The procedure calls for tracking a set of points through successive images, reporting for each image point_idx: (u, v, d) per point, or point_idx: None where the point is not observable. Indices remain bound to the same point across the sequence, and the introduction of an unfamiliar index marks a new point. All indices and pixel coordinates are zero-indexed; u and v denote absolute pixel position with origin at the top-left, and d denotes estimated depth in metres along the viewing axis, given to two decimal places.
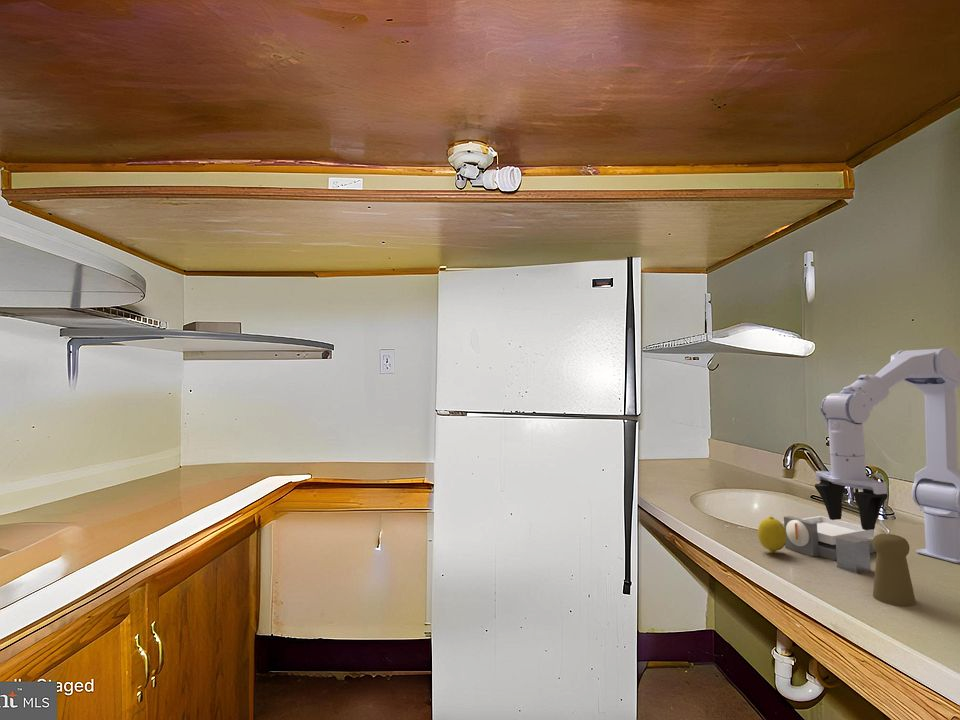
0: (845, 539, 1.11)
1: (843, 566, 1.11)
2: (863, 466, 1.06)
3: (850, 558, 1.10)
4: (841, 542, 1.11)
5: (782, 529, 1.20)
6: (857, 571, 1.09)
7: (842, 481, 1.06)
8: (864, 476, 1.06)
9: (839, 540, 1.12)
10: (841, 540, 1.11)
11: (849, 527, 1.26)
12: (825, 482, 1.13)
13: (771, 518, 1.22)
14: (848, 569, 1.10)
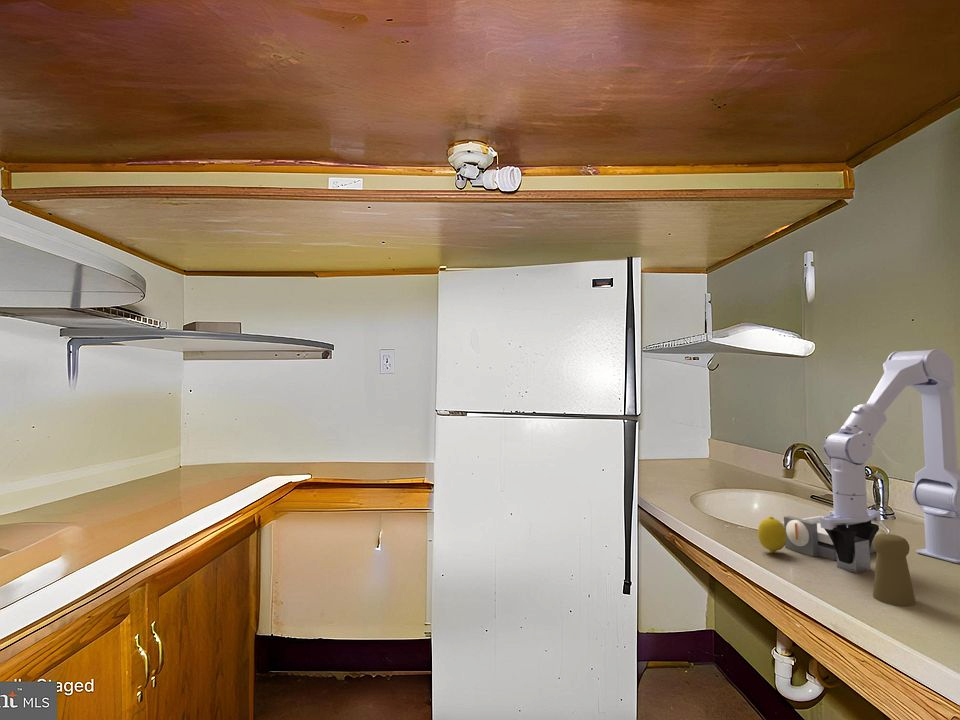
0: None
1: (843, 566, 1.11)
2: (844, 505, 1.10)
3: None
4: None
5: (782, 529, 1.20)
6: (857, 571, 1.09)
7: None
8: (845, 514, 1.10)
9: None
10: None
11: None
12: None
13: (771, 518, 1.22)
14: (848, 569, 1.10)
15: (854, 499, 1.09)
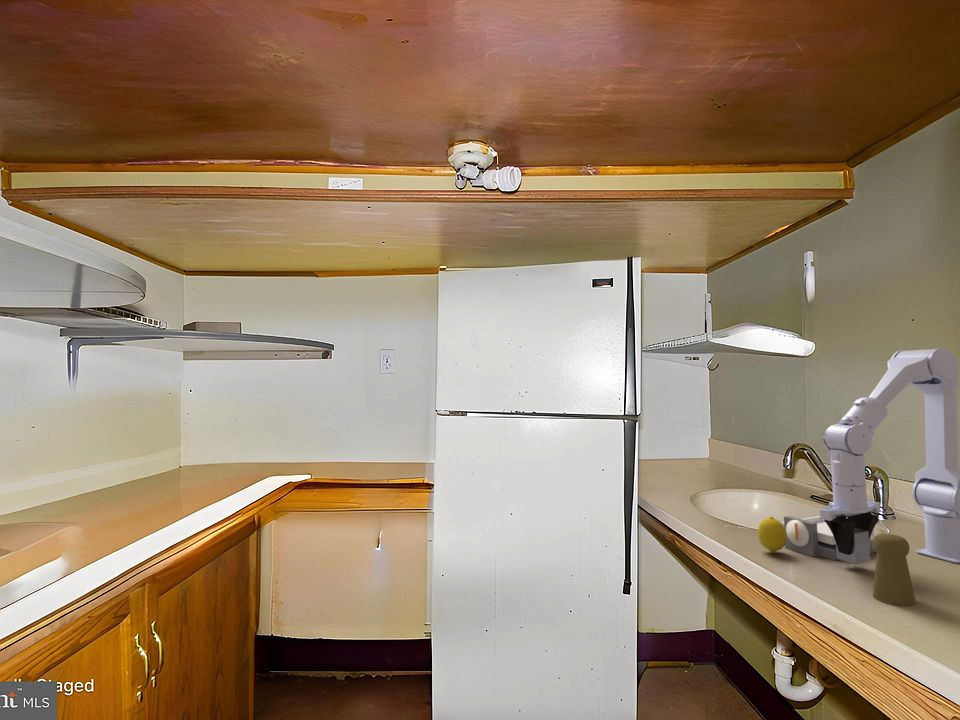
0: None
1: (843, 557, 1.11)
2: (843, 496, 1.10)
3: None
4: None
5: (782, 529, 1.20)
6: (857, 562, 1.09)
7: None
8: (845, 506, 1.10)
9: None
10: None
11: None
12: None
13: (771, 518, 1.22)
14: (848, 560, 1.10)
15: (853, 490, 1.09)
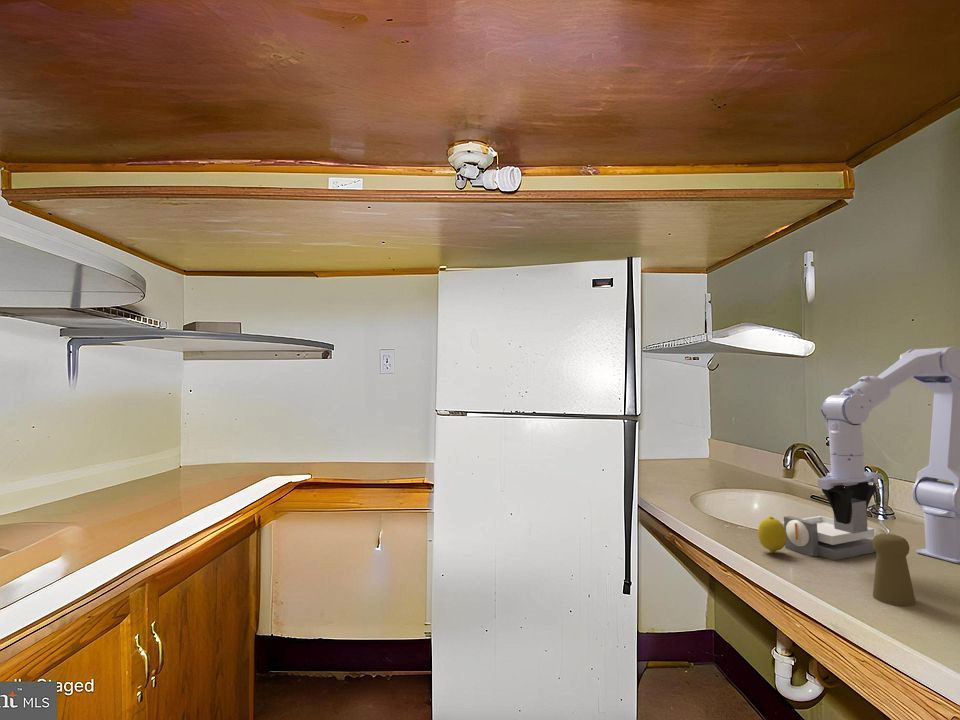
0: None
1: (840, 527, 1.12)
2: (841, 465, 1.10)
3: None
4: None
5: (782, 529, 1.20)
6: (854, 531, 1.09)
7: None
8: (843, 475, 1.10)
9: None
10: None
11: None
12: None
13: (771, 518, 1.22)
14: (845, 530, 1.11)
15: (851, 459, 1.09)
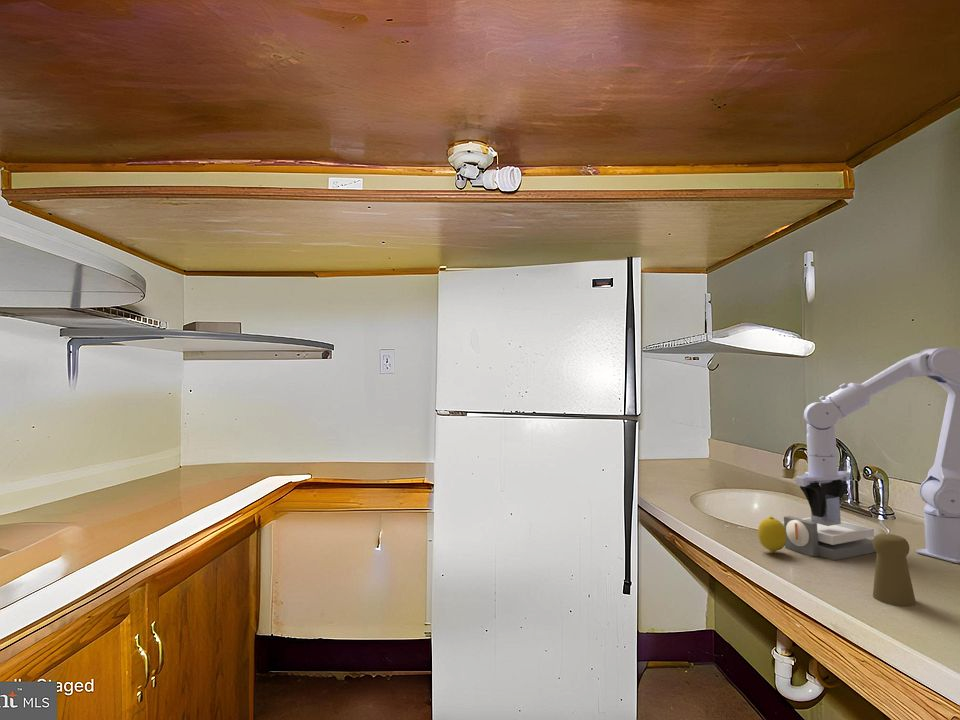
0: None
1: (816, 520, 1.25)
2: (817, 465, 1.24)
3: None
4: None
5: (782, 529, 1.20)
6: (828, 524, 1.23)
7: None
8: (818, 474, 1.24)
9: None
10: None
11: (849, 527, 1.26)
12: None
13: (771, 518, 1.22)
14: (821, 522, 1.24)
15: (825, 460, 1.23)
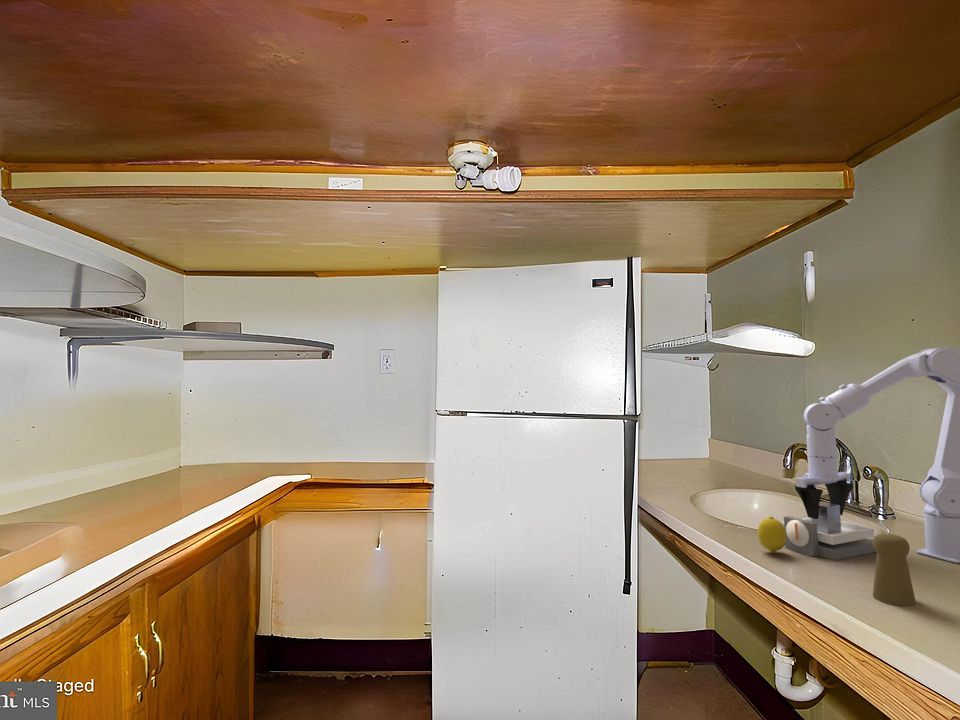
0: (819, 504, 1.25)
1: (817, 528, 1.25)
2: (817, 466, 1.24)
3: (823, 521, 1.24)
4: None
5: (782, 529, 1.20)
6: (829, 532, 1.23)
7: None
8: (818, 475, 1.24)
9: None
10: None
11: (849, 527, 1.26)
12: None
13: (771, 518, 1.22)
14: (821, 530, 1.24)
15: (825, 461, 1.23)
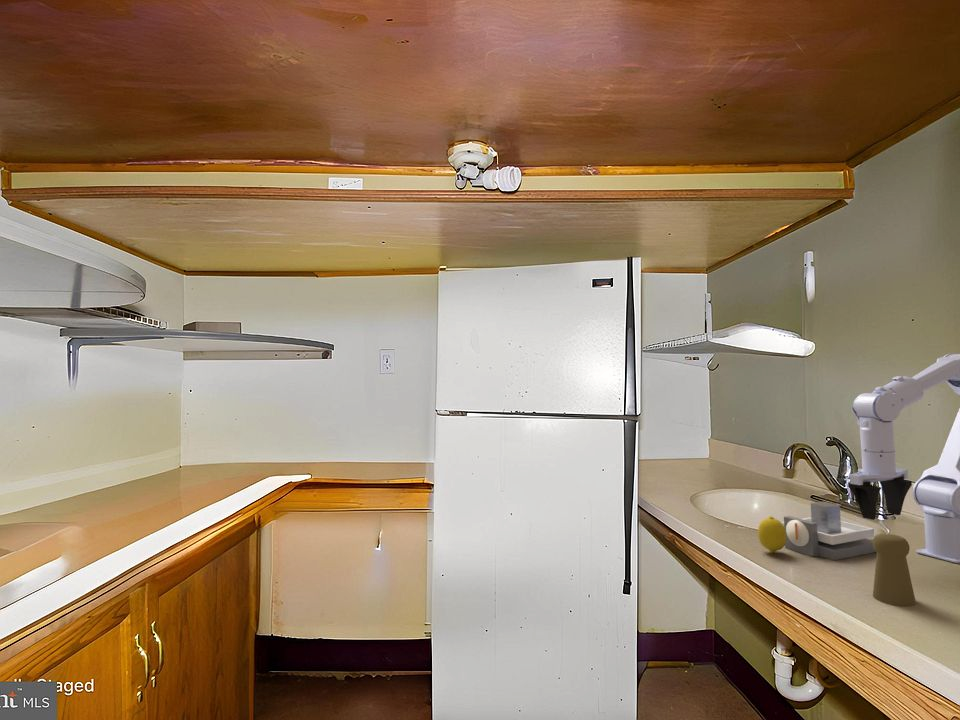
0: (819, 504, 1.25)
1: (817, 528, 1.25)
2: (873, 462, 1.13)
3: (823, 521, 1.24)
4: (815, 507, 1.25)
5: (782, 529, 1.20)
6: (829, 532, 1.23)
7: None
8: (874, 471, 1.13)
9: (814, 505, 1.26)
10: (815, 505, 1.25)
11: (849, 527, 1.26)
12: None
13: (771, 518, 1.22)
14: (821, 530, 1.24)
15: (883, 456, 1.12)
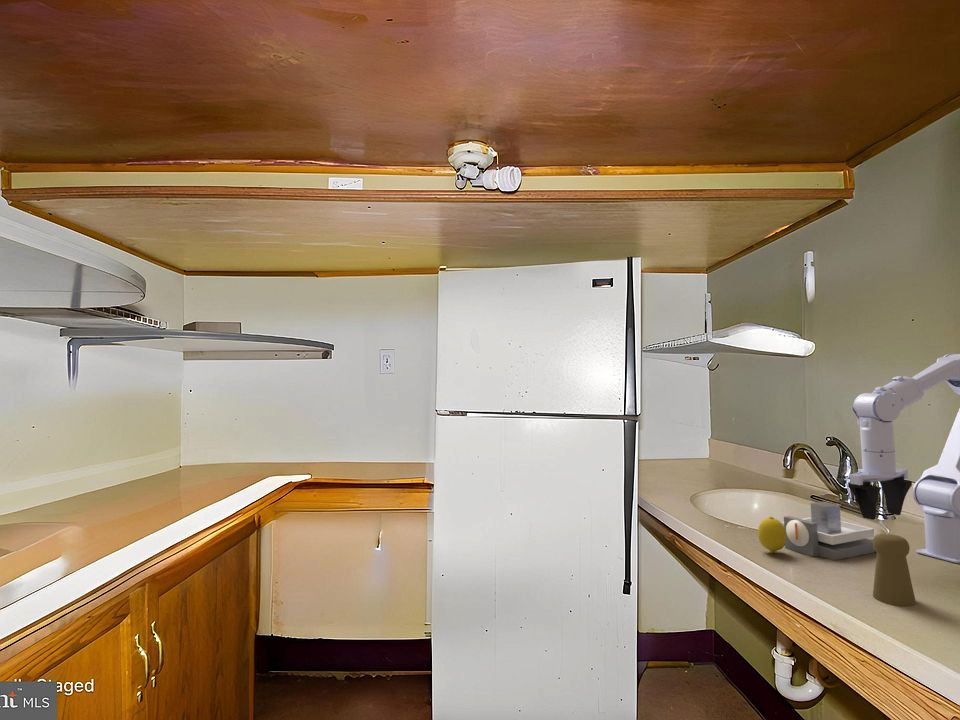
0: (819, 504, 1.25)
1: (817, 528, 1.25)
2: (873, 462, 1.13)
3: (823, 521, 1.24)
4: (815, 507, 1.25)
5: (782, 529, 1.20)
6: (829, 532, 1.23)
7: None
8: (874, 471, 1.13)
9: (814, 505, 1.26)
10: (815, 505, 1.25)
11: (849, 527, 1.26)
12: None
13: (771, 518, 1.22)
14: (821, 530, 1.24)
15: (883, 456, 1.12)
